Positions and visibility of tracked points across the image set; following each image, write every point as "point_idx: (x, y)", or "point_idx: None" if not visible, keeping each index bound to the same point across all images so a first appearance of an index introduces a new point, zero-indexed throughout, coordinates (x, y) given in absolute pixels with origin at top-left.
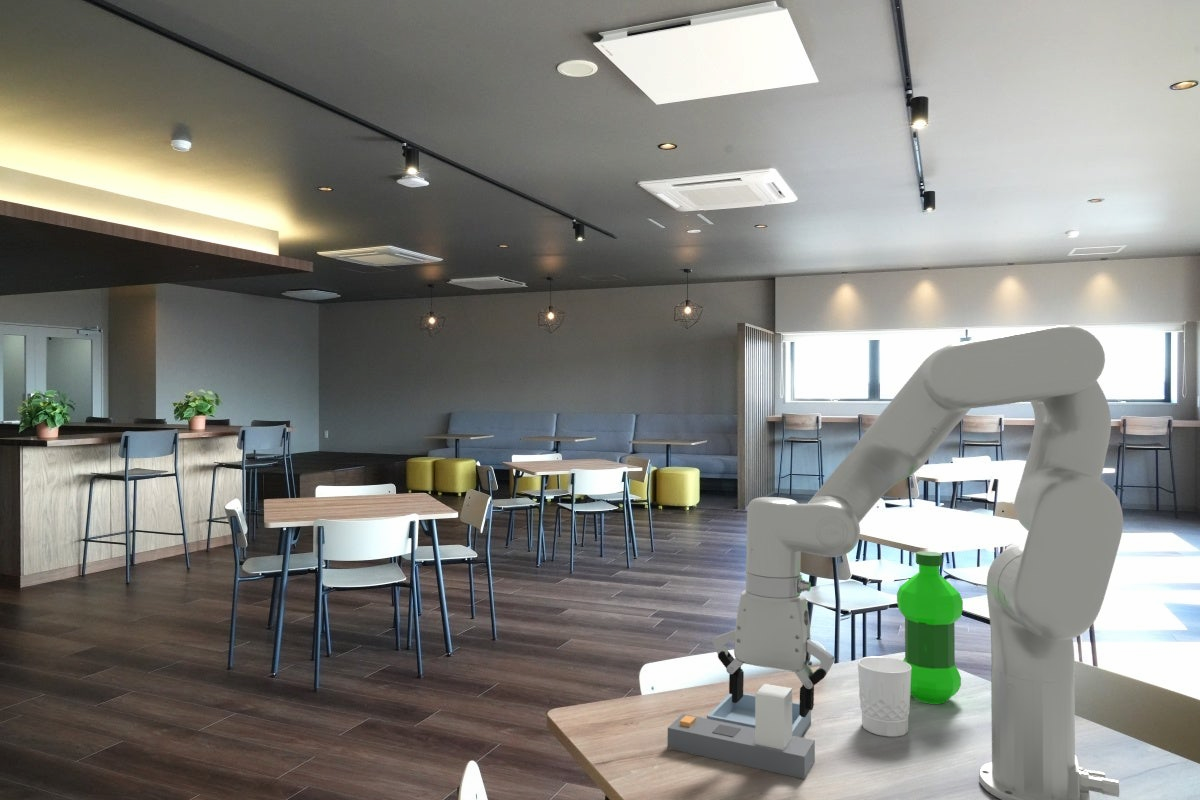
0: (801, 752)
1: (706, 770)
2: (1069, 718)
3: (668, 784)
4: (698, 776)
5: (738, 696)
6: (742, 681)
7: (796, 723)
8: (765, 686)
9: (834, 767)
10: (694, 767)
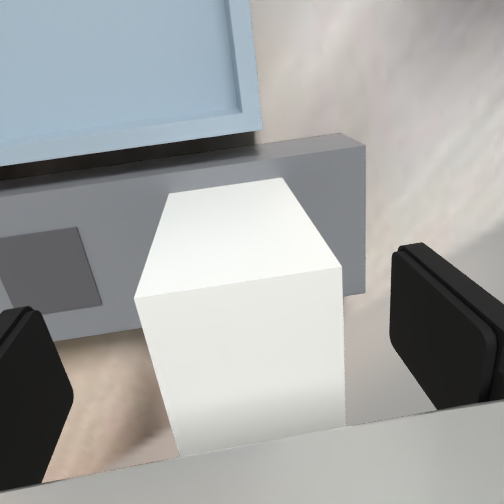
0: (348, 272)
1: (103, 364)
2: None
3: (80, 456)
4: (108, 396)
5: (58, 394)
6: (3, 391)
7: (241, 2)
8: (170, 344)
9: (405, 134)
10: (68, 368)
